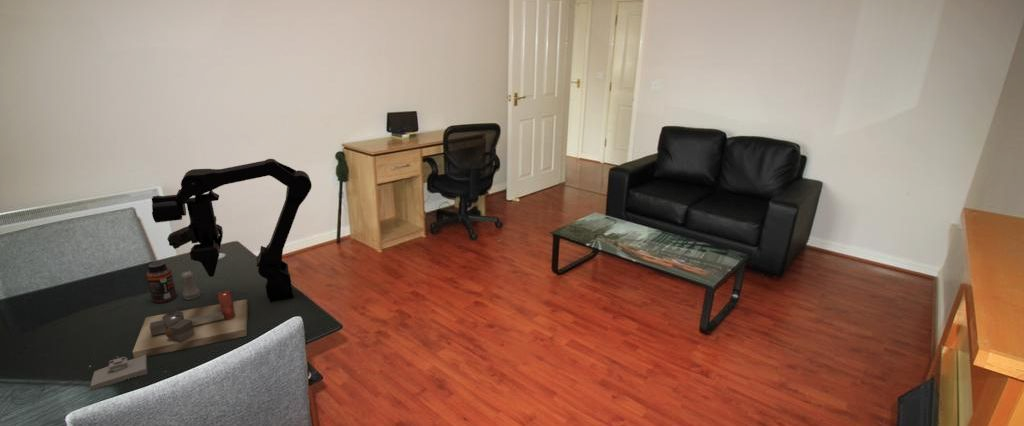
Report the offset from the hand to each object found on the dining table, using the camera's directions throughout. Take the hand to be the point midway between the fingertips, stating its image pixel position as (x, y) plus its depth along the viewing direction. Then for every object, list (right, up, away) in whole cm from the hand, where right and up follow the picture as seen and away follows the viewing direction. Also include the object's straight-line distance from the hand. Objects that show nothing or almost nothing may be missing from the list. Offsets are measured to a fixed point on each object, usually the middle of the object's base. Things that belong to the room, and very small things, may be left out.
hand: (213, 269), depth 137 cm
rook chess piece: (-12, -9, +9) cm, 18 cm away
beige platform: (-7, -22, -23) cm, 32 cm away
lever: (+1, -13, -9) cm, 16 cm away
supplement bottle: (-19, -10, +8) cm, 23 cm away
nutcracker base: (0, -15, -7) cm, 17 cm away
